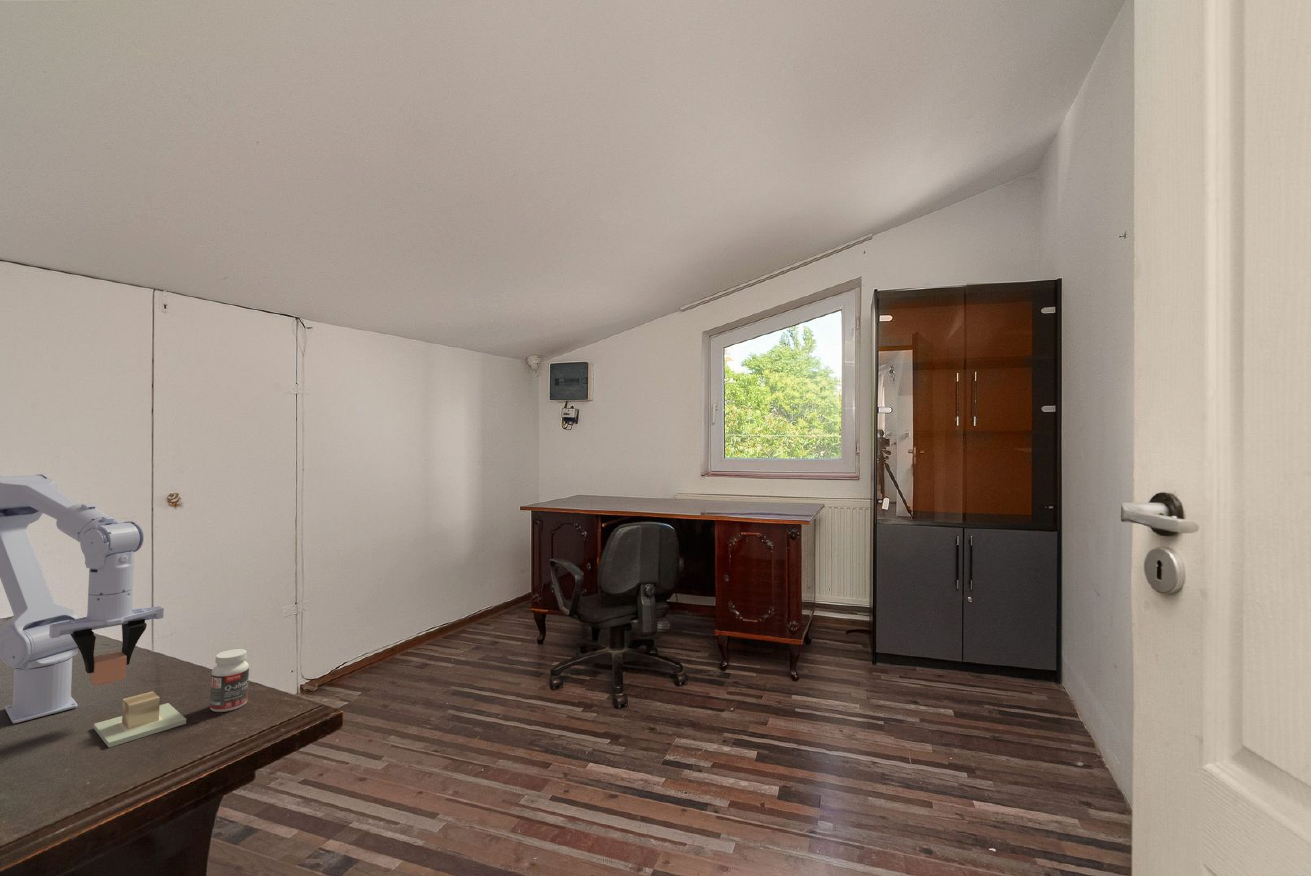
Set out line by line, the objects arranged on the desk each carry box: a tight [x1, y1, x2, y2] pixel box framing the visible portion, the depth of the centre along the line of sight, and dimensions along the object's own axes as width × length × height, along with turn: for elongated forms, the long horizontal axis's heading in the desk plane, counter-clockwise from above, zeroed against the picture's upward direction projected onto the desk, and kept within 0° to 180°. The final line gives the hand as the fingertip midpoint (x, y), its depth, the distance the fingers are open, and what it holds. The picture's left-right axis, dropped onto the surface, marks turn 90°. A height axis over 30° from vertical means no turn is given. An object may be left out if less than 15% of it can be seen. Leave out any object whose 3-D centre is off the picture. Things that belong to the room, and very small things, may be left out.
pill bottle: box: [209, 648, 250, 713], centre depth 106 cm, size 6×6×10 cm
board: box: [93, 702, 187, 748], centre depth 98 cm, size 10×10×1 cm
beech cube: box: [121, 690, 161, 729], centre depth 98 cm, size 4×4×4 cm
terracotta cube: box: [88, 650, 127, 687], centre depth 100 cm, size 4×4×4 cm
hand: (107, 667), depth 100 cm, fingers closed on terracotta cube, 4 cm apart
